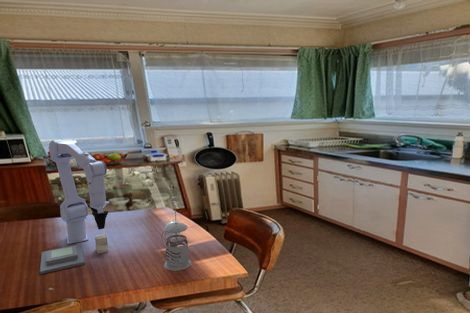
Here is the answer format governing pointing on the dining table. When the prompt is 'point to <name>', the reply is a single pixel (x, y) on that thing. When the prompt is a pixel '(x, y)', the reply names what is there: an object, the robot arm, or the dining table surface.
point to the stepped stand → (61, 258)
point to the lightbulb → (172, 233)
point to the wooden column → (101, 243)
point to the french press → (180, 259)
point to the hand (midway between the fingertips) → (100, 225)
